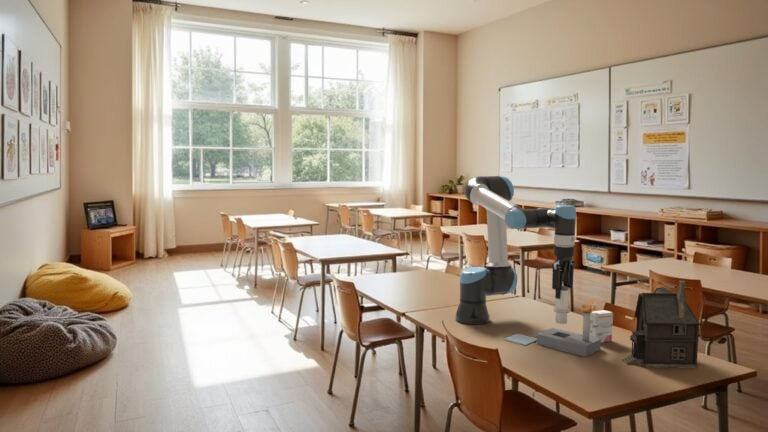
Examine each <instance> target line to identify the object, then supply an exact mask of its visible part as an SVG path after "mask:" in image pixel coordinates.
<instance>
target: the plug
mask: <svg viewBox="0 0 768 432" xmlns="http://www.w3.org/2000/svg"><path fill="white" fill-rule="evenodd" d="M568 288H569V287H567V286H563V285H562V290H563V304H562V307H557V306H554V307H553V312H555V323H557V324H560V325H565V324H568V314H569V313H570V312H571V309H570V308H569V307H568V306H569V305H568ZM569 289H570V288H569Z"/></svg>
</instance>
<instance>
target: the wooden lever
mask: <svg viewBox="0 0 768 432" xmlns="http://www.w3.org/2000/svg"><path fill="white" fill-rule="evenodd" d="M597 300H598V299H596V298H591V299H590V300H589V301H588V302H587V303H586V304H581V312H582V314H583V313H592V312H593V311H597Z"/></svg>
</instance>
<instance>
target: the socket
mask: <svg viewBox="0 0 768 432" xmlns="http://www.w3.org/2000/svg"><path fill="white" fill-rule="evenodd" d="M582 316H583V317H582V320H583V321H582V334H580V333H576V332H573V331H568V330H562V329H559V328H556V327H555V328H554V327H552V328H549V329H546V330H544V331H541V332H538V333H537V334H536V338H537V341H536V345H540V346H544V347H546V346H547V348H550V347H551V349H553V350H557V351H558V350H559V351H562V352H566V353H569V354H574V355H578V356H581V357H584V358H585V357H588V356H590V355H592V354H595V353H596V352H598V351H600V350H601V347H602V346H601V345H602V344H601V339H598V338H594V337H590V336H589V334H590V313H583V312H582Z"/></svg>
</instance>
